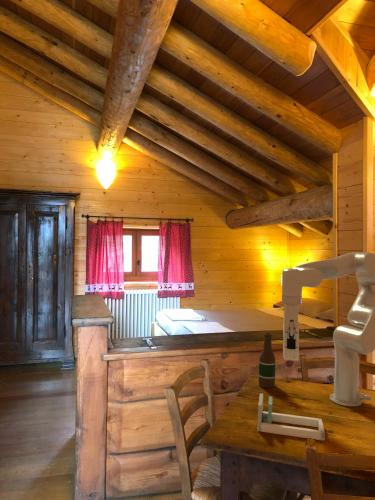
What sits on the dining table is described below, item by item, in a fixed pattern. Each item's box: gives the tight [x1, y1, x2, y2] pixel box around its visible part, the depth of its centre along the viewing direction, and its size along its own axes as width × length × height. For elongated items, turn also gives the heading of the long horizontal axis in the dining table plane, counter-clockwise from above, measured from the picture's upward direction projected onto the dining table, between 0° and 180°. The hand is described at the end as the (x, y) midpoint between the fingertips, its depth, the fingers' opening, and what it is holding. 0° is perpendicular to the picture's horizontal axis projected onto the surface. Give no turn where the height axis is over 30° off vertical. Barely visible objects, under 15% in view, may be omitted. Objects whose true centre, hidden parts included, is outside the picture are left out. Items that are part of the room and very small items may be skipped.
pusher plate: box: [262, 396, 273, 424], centre depth 136 cm, size 3×7×9 cm, turn 166°
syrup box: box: [282, 319, 300, 362], centre depth 148 cm, size 6×6×14 cm
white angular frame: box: [256, 393, 326, 442], centre depth 134 cm, size 22×11×9 cm, turn 76°
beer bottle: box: [257, 332, 276, 389], centre depth 176 cm, size 8×8×24 cm
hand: (290, 346), depth 148 cm, fingers closed on syrup box, 5 cm apart
